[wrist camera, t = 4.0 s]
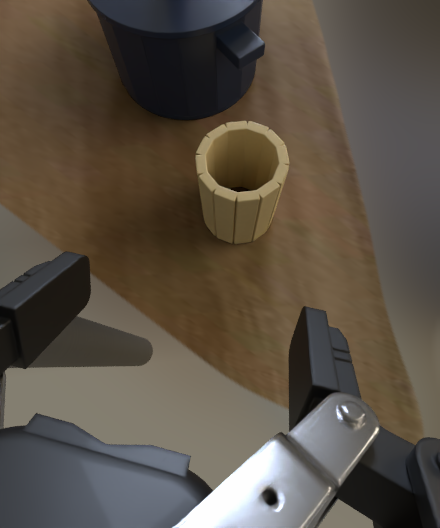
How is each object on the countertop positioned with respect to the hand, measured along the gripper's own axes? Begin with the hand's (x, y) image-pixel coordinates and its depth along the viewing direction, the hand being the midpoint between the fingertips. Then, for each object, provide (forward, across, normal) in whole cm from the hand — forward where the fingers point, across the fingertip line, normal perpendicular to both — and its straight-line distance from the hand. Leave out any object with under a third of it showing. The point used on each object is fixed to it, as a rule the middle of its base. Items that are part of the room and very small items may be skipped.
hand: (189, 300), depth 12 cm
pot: (+28, +8, -8) cm, 30 cm away
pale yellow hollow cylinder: (+17, 0, +2) cm, 18 cm away
